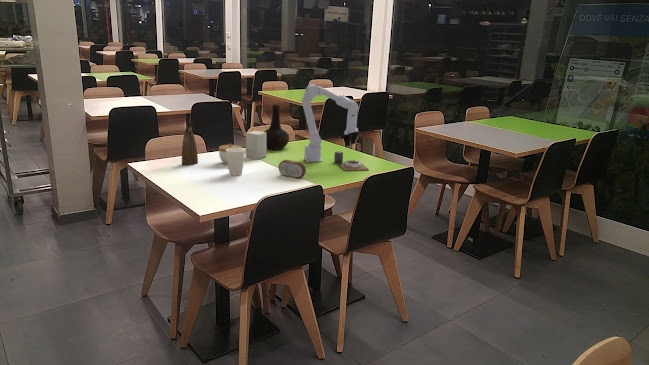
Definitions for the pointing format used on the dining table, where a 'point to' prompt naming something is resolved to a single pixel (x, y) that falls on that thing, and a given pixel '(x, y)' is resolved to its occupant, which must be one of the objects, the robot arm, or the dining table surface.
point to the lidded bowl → (223, 152)
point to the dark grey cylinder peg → (338, 157)
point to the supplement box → (256, 144)
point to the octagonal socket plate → (352, 166)
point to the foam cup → (235, 160)
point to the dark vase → (276, 131)
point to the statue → (189, 147)
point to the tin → (292, 169)
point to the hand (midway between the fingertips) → (350, 144)
